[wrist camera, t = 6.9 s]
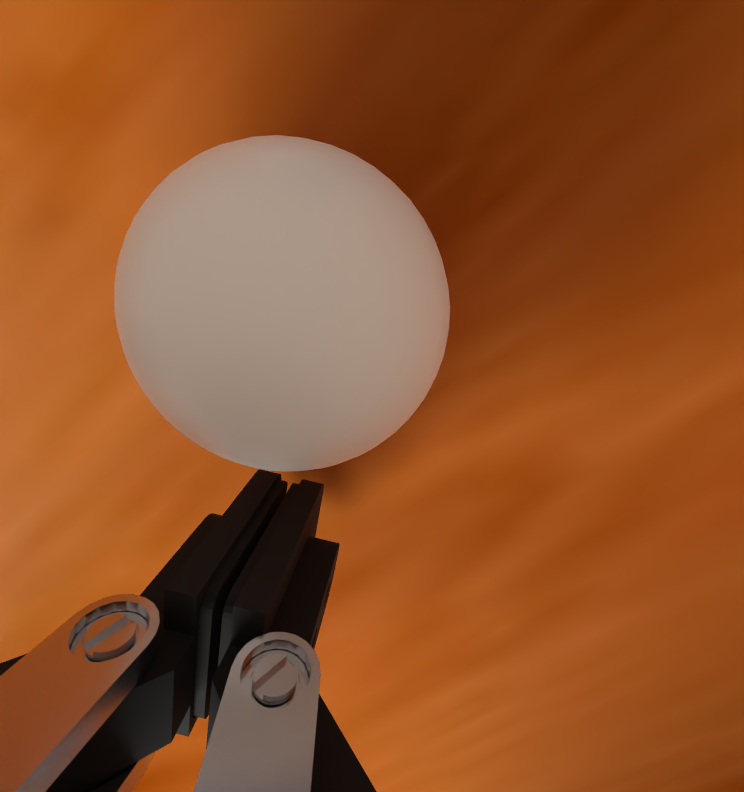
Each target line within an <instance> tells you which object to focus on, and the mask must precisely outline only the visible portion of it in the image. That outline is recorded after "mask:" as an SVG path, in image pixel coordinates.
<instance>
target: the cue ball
mask: <svg viewBox="0 0 744 792" xmlns="http://www.w3.org/2000/svg"><path fill="white" fill-rule="evenodd" d="M114 307H115V318H116V324H117V330H118V334H119V338H120V342H121V345H122V348H123V352H124V355H125V358H126V360H127V363H128V365H129V367H130V370H131V372H132V374H133V376H134V377H135V379H136V381H137V383H138V385H139V386H140V388H141V389H142V391H143V392H144V394H145V395H146V396H147V398H148V399H149V401H150V402H151V403H152V405H153V406H154V407H155V408H156V409H157V411H158V412H159V413H160V414H161V415H162V416H163V417H164V418H165V419H166V420H167V421H168V422H169V423H170V424H171V425H172V426H173V427H174V428H175V429H176V430H178V431H179V432H180V433H181V434H182V435H184V436H185V437H186V438H188V439H189V440H191V441H192V442H194V443H195V444H196V445H198V446H200V447H202V448H203V449H205V450H207V451H209V452H211V453H213V454H215V455H217V456H219V457H221V458H224V459H227V460H229V461H232V462H235V463H238V464H242V465H245V466H249V467H253V468H257V469H263V470H269V471H282V472H290V471H306V470H314V469H321V468H326V467H330V466H334V465H337V464H340V463H342V462H345V461H348V460H350V459H353V458H355V457H358V456H360V455H362V454H364V453H366V452H368V451H369V450H371V449H373V448H375V447H376V446H378V445H379V444H380V443H382V442H383V441H385V440H386V439H387V438H389V437H390V436H391V435H393V434H394V433H395V432H396V431H397V430H398V429H399V428H400V427H401V426H402V425H403V424H404V423H405V422H406V421H407V420H408V419H409V418H410V417H411V416H412V415H413V413H414V412H415V411H416V409H417V408H418V407H419V405H420V404H421V403H422V401H423V400H424V399H425V397H426V395H427V393H428V391H429V389H430V388H431V386H432V384H433V382H434V380H435V378H436V376H437V374H438V371H439V368H440V365H441V363H442V360H443V357H444V353H445V348H446V343H447V338H448V332H449V320H450V300H449V288H448V283H447V278H446V274H445V269H444V265H443V261H442V258H441V255H440V252H439V250H438V247H437V244H436V241H435V239H434V237H433V235H432V233H431V231H430V230H429V228H428V226H427V224H426V222H425V220H424V218H423V217H422V216H421V214H420V213H419V211H418V210H417V209H416V207H415V206H414V205H413V203H412V202H411V200H410V199H409V198H408V197H407V196H406V195H405V194H404V193H403V192H402V191H401V190H400V188H399V187H398V186H397V185H396V184H395V183H394V182H393V181H391V180H390V179H389V178H388V177H387V176H385V175H384V174H383V173H382V172H380V171H379V170H378V169H377V168H375V167H374V166H372V165H371V164H369V163H367V162H366V161H364V160H362V159H361V158H359V157H357V156H356V155H354V154H352V153H350V152H347V151H345V150H343V149H340V148H338V147H335V146H333V145H330V144H326V143H323V142H319V141H315V140H311V139H307V138H302V137H292V136H282V135H269V136H254V137H249V138H245V139H241V140H236V141H232V142H228V143H224V144H220V145H218V146H215V147H213V148H211V149H208V150H206V151H204V152H202V153H199V154H198V155H196V156H195V157H193V158H192V159H190V160H189V161H187V162H186V163H184V164H183V165H181V166H180V167H178V168H177V169H175V170H174V171H172V172H171V173H170V174H169V175H168V176H167V177H166V178H165V179H164V180H163V181H162V182H161V183H160V184H159V185H158V186H157V187H155V189H154V190H153V191H152V193H151V194H150V195H149V196H148V198H147V199H146V200H145V202H144V203H143V205H142V206H141V208H140V209H139V210H138V212H137V213H136V215H135V217H134V219H133V221H132V223H131V225H130V227H129V229H128V232H127V234H126V236H125V239H124V242H123V245H122V248H121V251H120V255H119V259H118V262H117V268H116V277H115V289H114Z"/></svg>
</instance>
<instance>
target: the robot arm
mask: <svg viewBox="0 0 744 792" xmlns="http://www.w3.org/2000/svg"><path fill="white" fill-rule="evenodd" d="M323 488H324V484H321V483H317V482H312V481H308V480H304V479H303V480H302V481H301V482H300V484H295V483H293V484H292V485H291V487H290V488H289V490H288V492H287V482H286V481H282V480H281V474H278V473H273V472H269V471H265V470H258V471H257V472H256V473H255V474H254V476H253V477H252V478H251V479H250V481H249V482H248V483H247V485H246V486H245V487H244V488H243V490H242V491H241V492H240V494H239V495H238V496H237V497H236V499H235V500H234V501H233V502H232V504H231V505H230V506H229V508H228V509H227V510H226V511H225V513H224V514H223V515H222V516H221V515H217V514H213V513H212V514H209V515H208V516H207V517H206V518H205V519H204V520H203V521H202V522H201V524H200V525H199V526H198V527H197V528H196V530H195V531H194V532H193V533H192V534H191V535H190V537H189V538H188V539H187V540H186V541H185V543H184V544H183V545H182V546H181V547H180V549H179V550H178V551H177V552H176V553H175V554H174V556H173V557H172V558H171V559H170V560H169V562H168V563H167V564H166V565H165V566H164V568H163V569H162V570H161V571H160V572H159V573H158V575H157V576H156V577H155V578H154V579H153V581H152V582H151V583H150V584H149V585H148V587H147V588H146V589H145V590H144V591H143V592H142V594H141V595H140V596H138V595H134V594H124V595H115V596H111V597H106V598H103V599H101V600H98V601H96V602H94V603H91V604H89V605H88V606H86V607H85V608H83V609H82V610H80V611H79V612H77V613H76V614H75V615H73V616H72V617H71V618H70V619H68V620H67V621H66V622H65V623H64V624H62V625H61V626H60V627H59V628H58V629H56V630H55V631H54V632H53V633H52V634H50V635H49V636H48V637H47V638H46V639H44V640H43V641H42V642H41V643H40V644H38V645H37V646H36V647H35V648H33V649H32V650H31V651H30V652H29V653H27V654H25V655H22V656H19V657H17V658H14V659H11V660H8V661H6V662H3V663H0V792H132V791H133V789H134V788H135V786H136V785H137V783H138V782H139V780H140V779H141V777H142V776H143V774H144V773H145V771H146V770H147V768H148V766H149V764H150V763H151V761H152V759H153V757H154V754H155V751H157V750H158V749H160V748H162V747H164V746H165V745H167V744H169V743H171V742H172V740H173V738H174V736H175V734H176V733H177V734H181V735H185V736H189V734H190V732H191V730H192V728H193V726H194V724H195V722H196V720H197V718H198V717H200V718H204V719H206V718H207V717H208V715H209V722H208V734H207V746H206V752H205V756H204V759H203V762H202V766H201V769H200V772H199V775H198V779H197V782H196V785H195V789H194V792H376V790H375V788H374V787H373V785H372V783H371V782H370V780H369V778H368V776H367V775H366V773H365V771H364V770H363V768H362V766H361V764H360V763H359V761H358V759H357V758H356V756H355V754H354V753H353V751H352V749H351V747H350V746H349V744H348V742H347V741H346V739H345V737H344V735H343V734H342V732H341V730H340V729H339V727H338V725H337V723H336V722H335V720H334V718H333V717H332V715H331V713H330V712H329V710H328V708H327V706H326V705H325V703H324V701H323V700H322V698H321V696H320V694H319V687H320V662H319V660H318V658H317V655H316V653H315V650H314V648H315V644H316V641H317V637H318V633H319V630H320V626H321V622H322V619H323V615H324V611H325V608H326V604H327V600H328V596H329V592H330V588H331V584H332V579H333V575H334V570H335V566H336V561H337V556H338V550H339V543H335V542H331V541H327V540H322V539H318V538H315V535H316V529H317V523H318V517H319V512H320V506H321V500H322V495H323ZM286 492H287V494H286Z"/></svg>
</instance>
